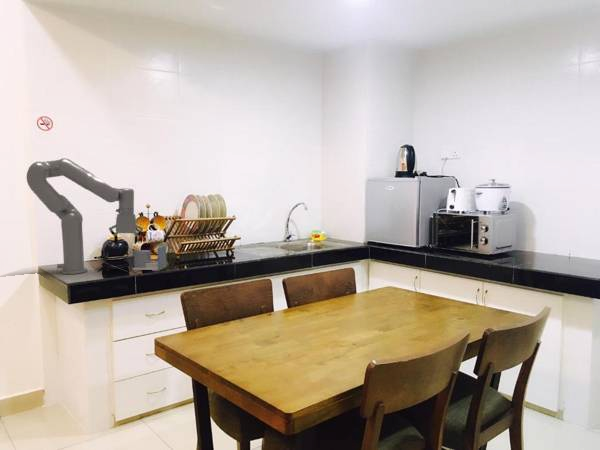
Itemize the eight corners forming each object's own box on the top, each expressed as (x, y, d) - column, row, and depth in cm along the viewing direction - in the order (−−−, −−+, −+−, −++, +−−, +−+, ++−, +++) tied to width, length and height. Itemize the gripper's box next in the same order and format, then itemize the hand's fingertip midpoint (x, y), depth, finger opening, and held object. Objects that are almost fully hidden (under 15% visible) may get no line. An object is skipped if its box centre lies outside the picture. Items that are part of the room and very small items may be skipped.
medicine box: (151, 265, 269) (150, 250, 268) (148, 267, 265) (148, 251, 264) (137, 265, 269) (136, 250, 268) (134, 267, 265) (133, 251, 264)
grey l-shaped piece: (132, 270, 262) (131, 247, 261) (139, 266, 273) (138, 244, 271) (160, 270, 261) (159, 248, 260) (166, 266, 272) (166, 245, 271)
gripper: (108, 211, 258) (107, 244, 260) (142, 212, 263) (142, 244, 264) (109, 210, 266) (109, 242, 267) (143, 211, 270) (143, 242, 271)
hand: (126, 243), depth 266 cm, fingers open, 9 cm apart
